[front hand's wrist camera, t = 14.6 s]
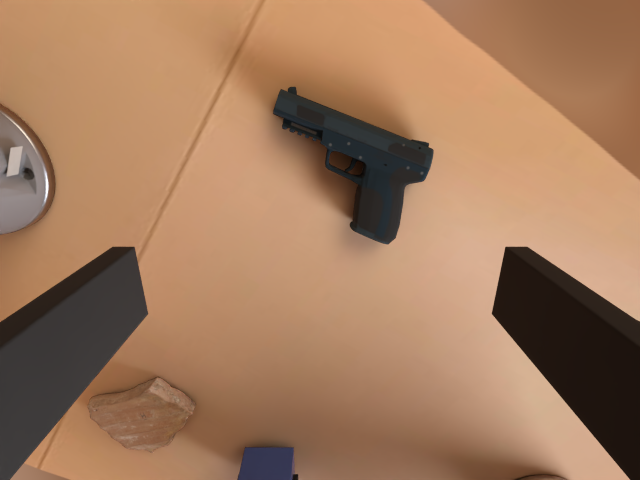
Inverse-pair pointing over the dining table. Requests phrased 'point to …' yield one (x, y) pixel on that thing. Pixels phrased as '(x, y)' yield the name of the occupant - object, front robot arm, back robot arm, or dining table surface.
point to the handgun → (362, 160)
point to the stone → (142, 414)
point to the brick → (267, 463)
